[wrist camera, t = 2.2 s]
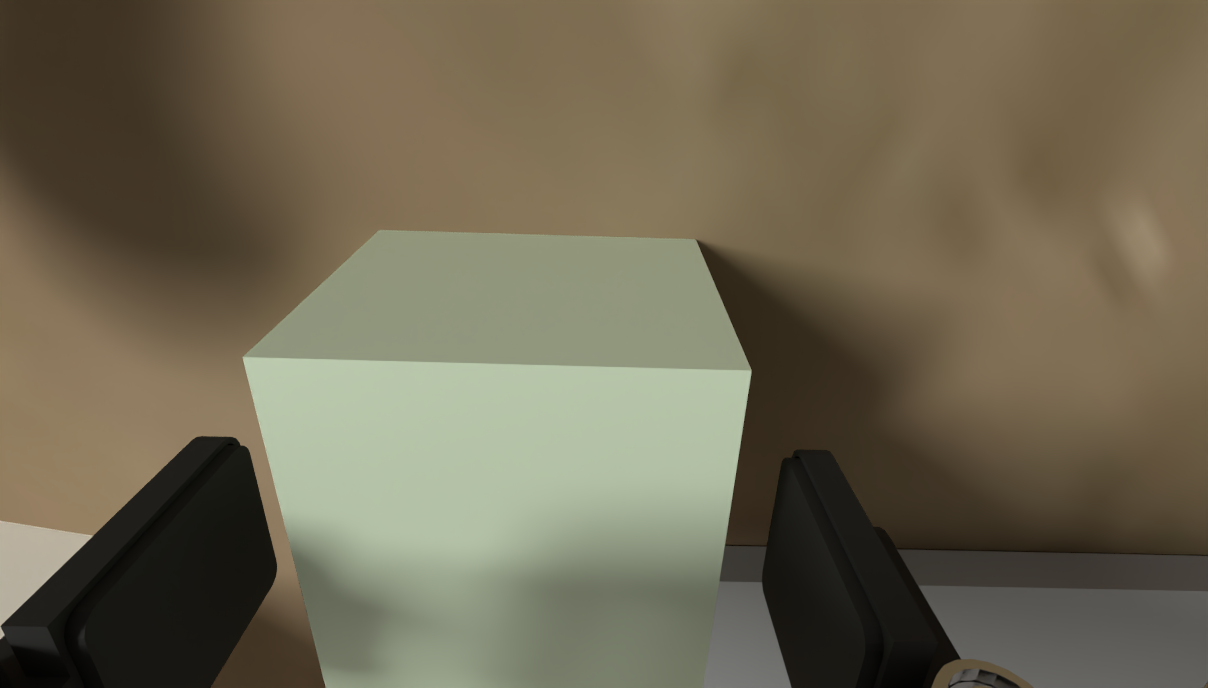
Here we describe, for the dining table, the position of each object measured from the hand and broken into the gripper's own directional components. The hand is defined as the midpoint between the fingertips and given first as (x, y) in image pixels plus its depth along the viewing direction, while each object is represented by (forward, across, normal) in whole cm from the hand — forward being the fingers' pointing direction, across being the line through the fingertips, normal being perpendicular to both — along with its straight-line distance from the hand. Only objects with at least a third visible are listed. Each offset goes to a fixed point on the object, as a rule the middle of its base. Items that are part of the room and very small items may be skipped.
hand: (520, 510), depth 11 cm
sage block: (+4, 0, -1) cm, 4 cm away
